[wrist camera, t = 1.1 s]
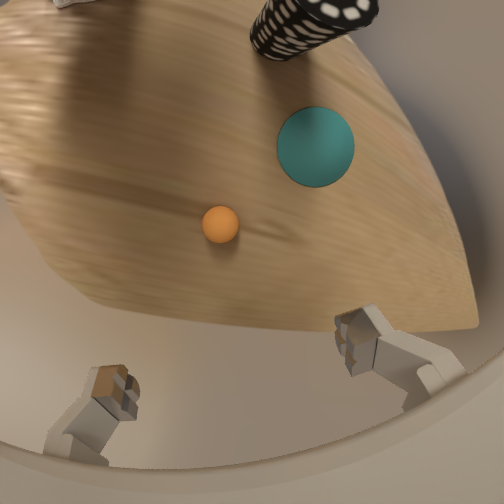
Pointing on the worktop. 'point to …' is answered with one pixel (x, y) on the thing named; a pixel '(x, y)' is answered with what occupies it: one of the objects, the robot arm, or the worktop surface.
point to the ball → (220, 224)
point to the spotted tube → (307, 24)
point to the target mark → (315, 146)
